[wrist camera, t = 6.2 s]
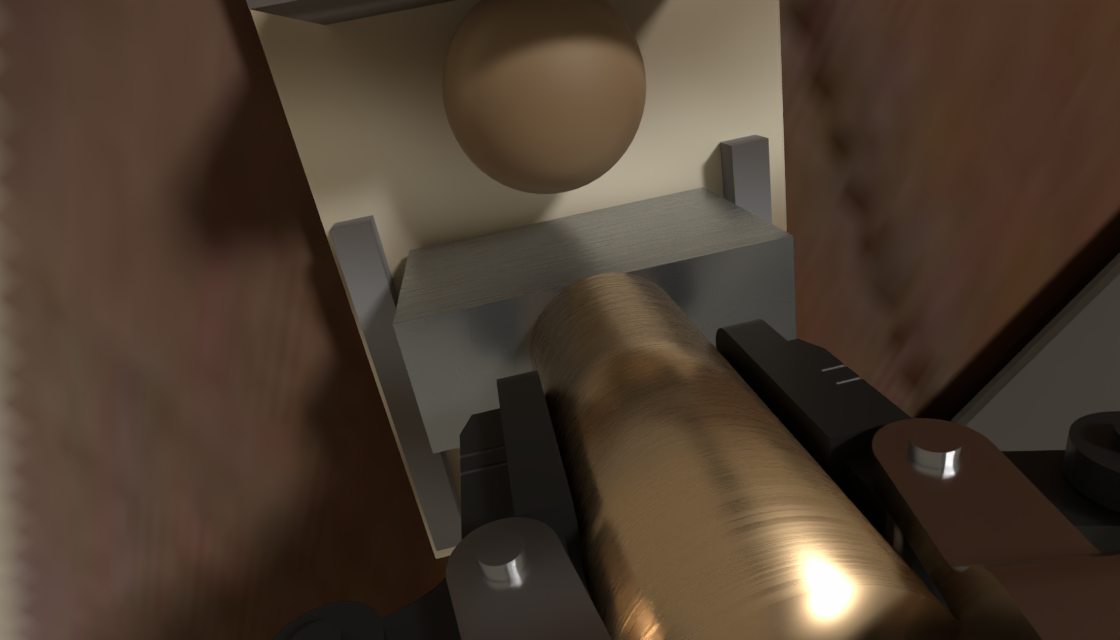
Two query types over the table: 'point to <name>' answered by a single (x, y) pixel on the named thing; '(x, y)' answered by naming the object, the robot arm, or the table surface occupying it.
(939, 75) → the table surface
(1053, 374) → the laptop
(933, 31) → the table surface
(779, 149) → the peg and ball tray
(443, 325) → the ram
